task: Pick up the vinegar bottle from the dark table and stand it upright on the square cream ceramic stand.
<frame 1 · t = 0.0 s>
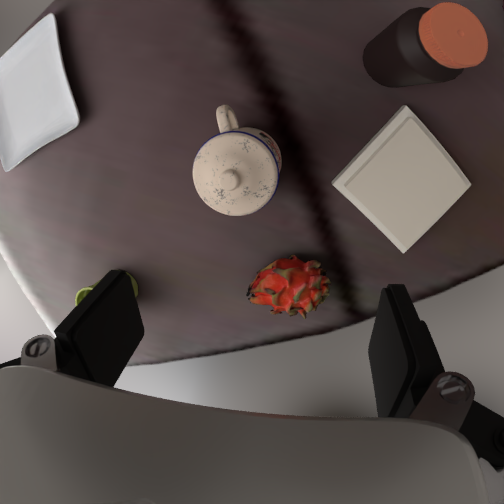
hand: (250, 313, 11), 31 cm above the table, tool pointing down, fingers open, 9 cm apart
stand: (404, 180, 37), on the table
teacup with lid: (245, 149, 39), on the table
dragon fruit: (289, 274, 46), on the table
salad plate: (34, 93, 39), on the table
vinegar: (388, 62, 31), on the table
plant pot: (124, 284, 52), on the table
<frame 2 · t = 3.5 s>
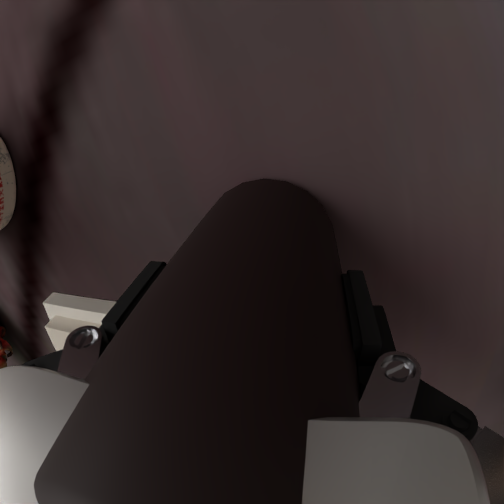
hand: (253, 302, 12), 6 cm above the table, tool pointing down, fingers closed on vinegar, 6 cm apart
stand: (145, 371, 24), on the table
vinegar: (269, 238, 17), on the table, touching gripper
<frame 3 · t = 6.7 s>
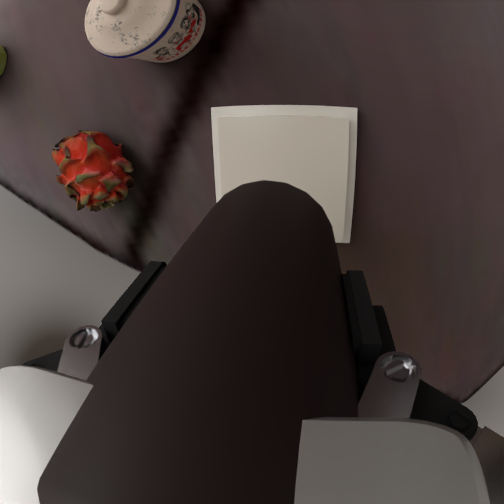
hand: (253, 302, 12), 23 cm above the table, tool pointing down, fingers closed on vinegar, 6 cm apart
stand: (285, 172, 32), on the table
teacup with lid: (175, 16, 26), on the table
dragon fruit: (107, 161, 34), on the table
vinegar: (269, 239, 17), point 17 cm above the table, touching gripper
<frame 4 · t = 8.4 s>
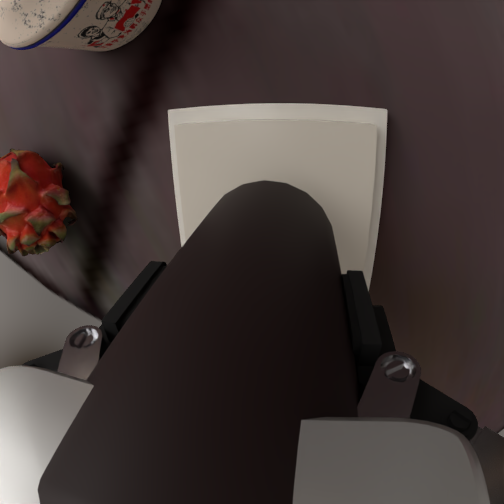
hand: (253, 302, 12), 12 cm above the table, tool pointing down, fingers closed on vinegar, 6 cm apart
stand: (278, 203, 22), on the table
dragon fruit: (49, 185, 25), on the table
vinegar: (269, 239, 17), point 6 cm above the table, touching gripper
when the fingers open (9 cm above the table, at t = 9.9 s): vinegar stays where it is, resting on stand.
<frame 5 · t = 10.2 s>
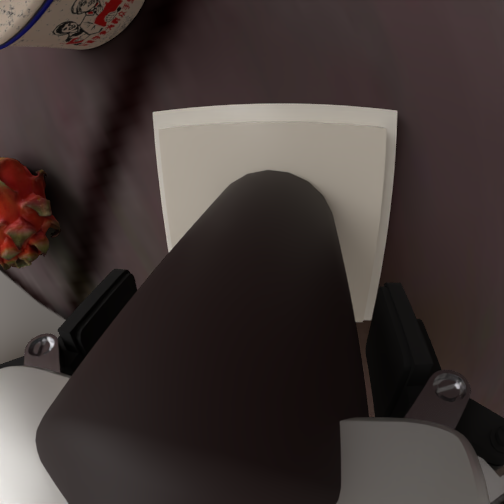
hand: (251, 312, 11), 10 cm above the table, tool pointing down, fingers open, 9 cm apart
stand: (275, 214, 20), on the table
dragon fruit: (33, 193, 23), on the table
vinegar: (272, 227, 18), point 3 cm above the table, touching stand
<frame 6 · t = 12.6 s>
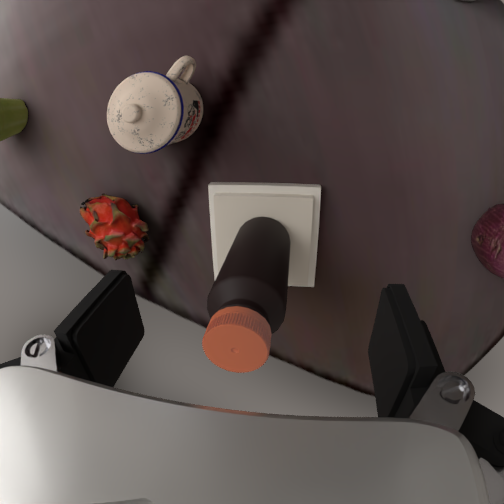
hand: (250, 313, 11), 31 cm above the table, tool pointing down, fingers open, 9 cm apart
stand: (265, 233, 43), on the table
vegetable: (496, 233, 38), on the table
teacup with lid: (178, 101, 37), on the table
dragon fruit: (124, 216, 45), on the table
vinegar: (263, 240, 40), point 3 cm above the table, touching stand
plant pot: (18, 116, 40), on the table
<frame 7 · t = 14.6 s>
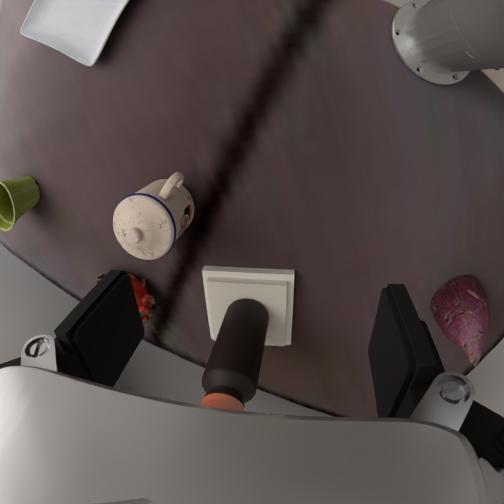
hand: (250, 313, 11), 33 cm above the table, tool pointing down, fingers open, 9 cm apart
stand: (250, 304, 52), on the table
vegetable: (456, 299, 46), on the table
teacup with lid: (173, 198, 46), on the table
dragon fruit: (134, 285, 55), on the table
vinegar: (248, 314, 50), point 3 cm above the table, touching stand
plant pot: (30, 190, 49), on the table
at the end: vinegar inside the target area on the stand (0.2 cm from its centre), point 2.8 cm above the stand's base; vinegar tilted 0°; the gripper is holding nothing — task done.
